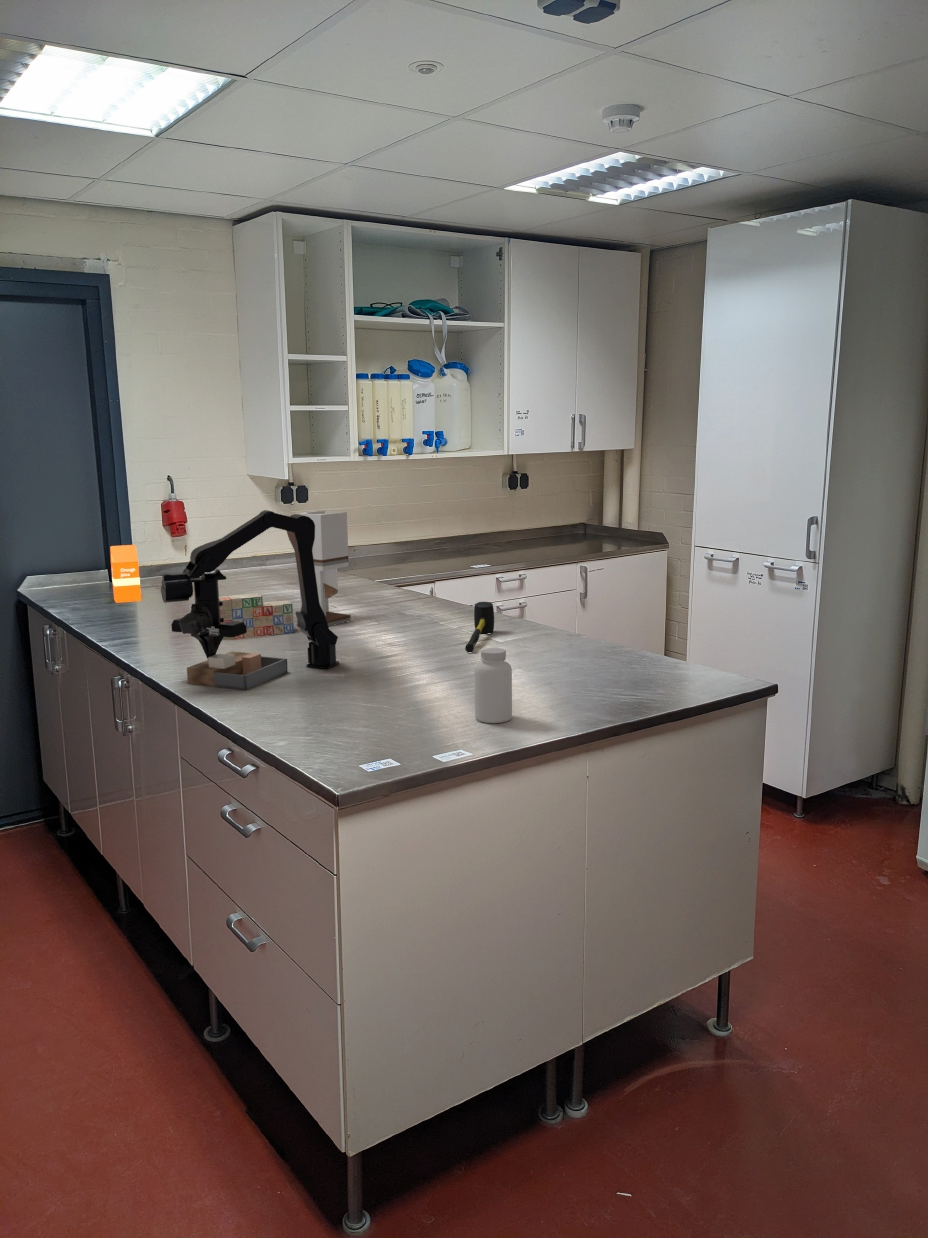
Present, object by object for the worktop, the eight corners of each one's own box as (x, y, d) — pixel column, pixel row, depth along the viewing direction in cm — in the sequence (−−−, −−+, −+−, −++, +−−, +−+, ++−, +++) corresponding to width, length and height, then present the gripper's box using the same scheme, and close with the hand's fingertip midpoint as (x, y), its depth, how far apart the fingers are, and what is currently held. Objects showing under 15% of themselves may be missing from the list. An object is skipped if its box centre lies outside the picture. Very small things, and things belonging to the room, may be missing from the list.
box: (287, 672, 241) (286, 658, 241) (245, 690, 225) (244, 676, 224) (258, 668, 245) (257, 655, 244) (214, 686, 228) (213, 672, 228)
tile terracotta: (253, 670, 242) (261, 671, 241) (242, 674, 238) (251, 675, 237) (252, 653, 241) (260, 653, 240) (241, 657, 237) (250, 657, 236)
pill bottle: (510, 712, 206) (510, 645, 203) (513, 724, 198) (513, 654, 195) (474, 713, 206) (473, 646, 203) (475, 724, 198) (475, 655, 195)
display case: (325, 627, 294) (320, 514, 287) (301, 623, 300) (296, 513, 293) (350, 621, 303) (346, 511, 296) (327, 617, 309) (322, 510, 302)
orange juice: (113, 599, 345) (109, 545, 341) (139, 597, 349) (134, 543, 345) (115, 602, 338) (111, 547, 334) (141, 600, 342) (137, 545, 338)
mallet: (480, 654, 258) (480, 620, 256) (458, 654, 259) (458, 619, 257) (495, 631, 286) (495, 600, 284) (476, 631, 287) (476, 600, 285)
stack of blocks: (288, 629, 292) (287, 590, 290) (294, 633, 287) (292, 593, 284) (219, 636, 283) (216, 596, 281) (223, 640, 278) (220, 599, 275)
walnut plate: (258, 668, 245) (257, 653, 244) (214, 686, 228) (213, 670, 228) (232, 666, 248) (231, 651, 247) (187, 683, 232) (186, 667, 231)
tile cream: (235, 664, 233) (234, 654, 233) (224, 668, 229) (223, 658, 229) (220, 662, 235) (219, 653, 234) (208, 667, 231) (208, 657, 230)
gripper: (153, 601, 226) (158, 665, 230) (217, 607, 219) (221, 672, 222) (184, 594, 236) (188, 654, 240) (246, 599, 229) (249, 661, 232)
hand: (210, 660), depth 233 cm, fingers closed
